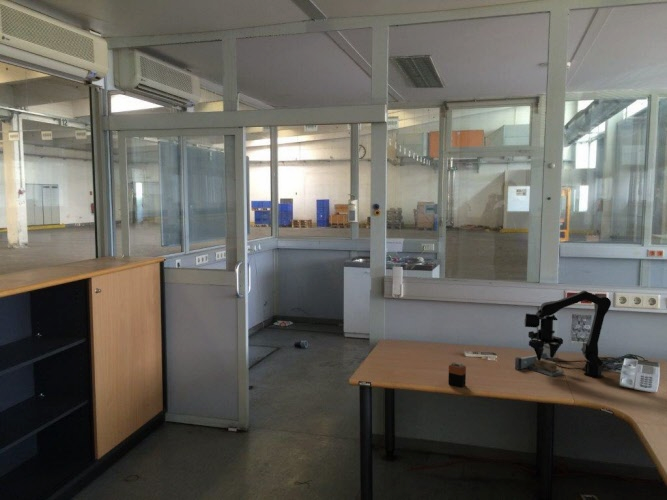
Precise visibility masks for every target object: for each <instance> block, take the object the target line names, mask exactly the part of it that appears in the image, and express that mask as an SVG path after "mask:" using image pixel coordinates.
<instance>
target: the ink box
mask: <svg viewBox="0 0 667 500" xmlns="http://www.w3.org/2000/svg"><path fill="white" fill-rule="evenodd" d="M553 331H555V330H554V329H553ZM554 334H555V333H553V336H555V335H554ZM539 341H540V340H539ZM543 348H544V350H543V353H546V359H556V356H557V355H556V354H557V352H556V353H555V355H554V356H553V358H551V357H550V346H549V344H544V346H543Z"/></svg>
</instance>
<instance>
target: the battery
mask: <svg viewBox="0 0 667 500" xmlns="http://www.w3.org/2000/svg"><path fill="white" fill-rule="evenodd" d="M466 371H467V366H466V365H463V364H460V363H459V364H458V363H457V362H451V363H450V364H449V365H448V380H447V381H448V385H451V386H454V387H458V388H463V387H464V386H466V379H467V377H466V376H467V372H466Z"/></svg>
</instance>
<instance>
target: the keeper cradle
mask: <svg viewBox="0 0 667 500" xmlns="http://www.w3.org/2000/svg"><path fill="white" fill-rule="evenodd" d="M527 369H529V370H530V371H534V372H537V373H540V374H542V375H546V376H548V377H552V378H554V377H558V376H562V375H564V370H561V369H558V368H557V369H556V372H549V371H546V370H543V369H540V368H537V367H535V364H533V365H528V367H527Z"/></svg>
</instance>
